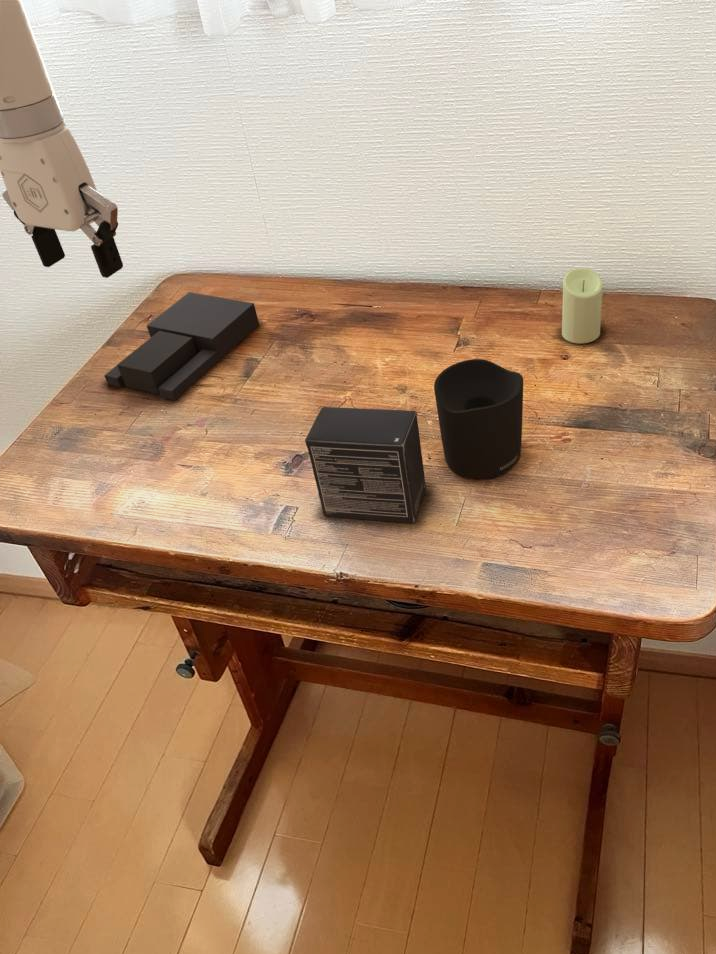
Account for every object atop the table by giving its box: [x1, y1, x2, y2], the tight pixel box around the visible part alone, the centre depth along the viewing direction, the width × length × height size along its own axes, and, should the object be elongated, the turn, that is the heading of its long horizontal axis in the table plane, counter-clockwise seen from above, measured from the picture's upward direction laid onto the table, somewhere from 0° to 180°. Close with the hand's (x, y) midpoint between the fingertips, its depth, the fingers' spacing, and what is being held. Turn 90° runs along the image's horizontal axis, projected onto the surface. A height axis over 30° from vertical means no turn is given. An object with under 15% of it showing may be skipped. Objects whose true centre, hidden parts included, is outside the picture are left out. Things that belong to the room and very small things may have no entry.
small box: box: [304, 406, 427, 524], centre depth 88 cm, size 11×6×10 cm, turn 77°
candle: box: [561, 267, 604, 345], centre depth 108 cm, size 5×5×8 cm
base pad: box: [103, 291, 260, 401], centre depth 117 cm, size 20×12×4 cm, turn 153°
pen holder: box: [433, 358, 524, 480], centre depth 91 cm, size 9×9×10 cm
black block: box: [116, 331, 198, 395], centre depth 114 cm, size 9×6×4 cm, turn 153°
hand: (83, 267), depth 102 cm, fingers open, 9 cm apart
